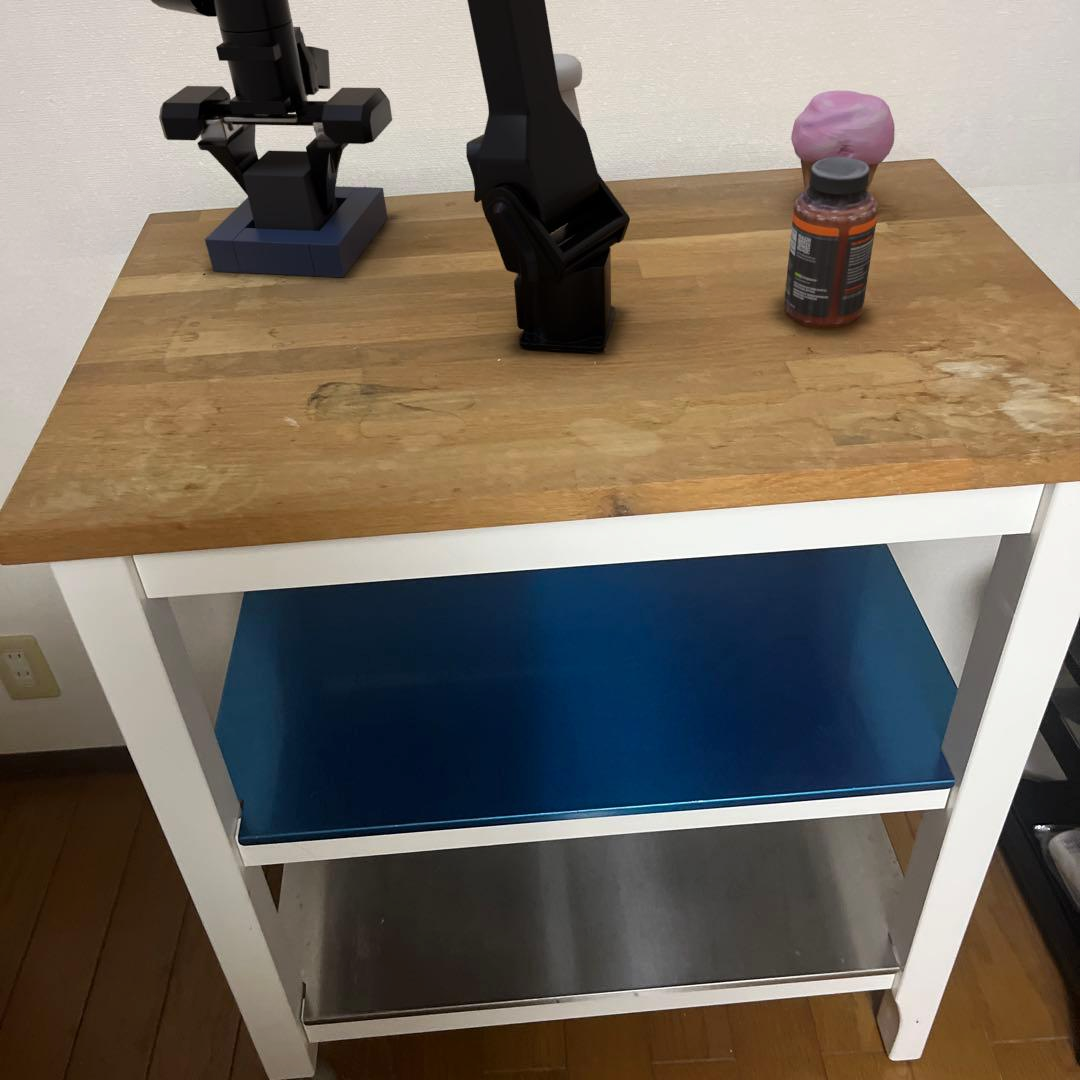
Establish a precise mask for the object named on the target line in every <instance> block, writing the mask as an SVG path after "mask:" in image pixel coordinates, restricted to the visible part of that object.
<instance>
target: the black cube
mask: <svg viewBox="0 0 1080 1080" xmlns="http://www.w3.org/2000/svg"><path fill="white" fill-rule="evenodd" d="M258 159H259V160H258V161H257V162H255V163H254V164H253V165H252V166H251V167H250V168H249V169H248V170H247V171H246V172H245V173H244V174H243V179H244V183H245V187H246V191H247V194H246V195H248V196H247V198H248V199H249V203H250V207H251V211H252V215H253V220H254V224H255V228H256V229H282V230H308V231H320V230H321V229H322V228H323V226H324V225H325V224H326V223H327V222H328V220H329V219H330V218H331V217H332V216H333V215H334V213H335V212H336V211H337V210H338V208H337V202H336V197H335V194H334V200H333V207H332V211H331V213H330V214H329V215H324V214H323V212H322V209H321V206H320V204H319V201H318V197H317V193H316V188H315V184H314V180H313V176H312V172H311V167H310V164H309V159H308V155H307V151H306V150H305V151H304V150H267V151H266V152H265V153H264V154H263V155H261V156H260V158H258Z"/></svg>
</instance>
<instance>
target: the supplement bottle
mask: <svg viewBox="0 0 1080 1080" xmlns="http://www.w3.org/2000/svg"><path fill="white" fill-rule="evenodd" d="M869 172H870V170H869V166H868V165H867V164H866V163H864V162H862V161H860V160H857V159H853V158H845V157H834V158H826V159H823V160H820V161H817V162H816V163H815V164H814V165H812V168H811V177H810V182H809V184H810V187H809V188H808V189H807V190H806V191H805V190H804V191H802V192H801V193H800V194H799V195H798V197H797V198H796V200H795V202H794V205H793V211H792V221H791V229H790V230H791V231H790V239H789V241H790V242H789V250H788V259H787V260H788V261H787V268H786V269H787V271H786V280H785V289H784V302H783V304H784V305H783V307H784V310H785V313H786V314H787V316H789V317H790V318H791V319H792V320H794V321H795V322H797V323H800V324H803V325H805V326H811V327H815V328H834V327H842V326H845V325H847V324H849V323H852V322H854V321H855V320H857V319H858V318H859V317H860V315H861V314H862V312H863V308H864V303H865V298H866V291H867V286H868V285H867V284H868V278H869V271H870V266H871V265H870V264H871V260H872V259H871V258H872V252H873V246H874V240H875V232H876V227H877V219H878V210H879V207H878V201H877V200H876V198H875V196H874V195H873V194H872V193H871V192H869V190H868V191H866V188H867V186H868V184H869V182H868V178H869Z"/></svg>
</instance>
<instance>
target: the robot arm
mask: <svg viewBox="0 0 1080 1080" xmlns="http://www.w3.org/2000/svg"><path fill="white" fill-rule="evenodd" d="M150 1H151V2H152V3H153V4H154V5H156V6H157V7H159V8H162V9H165V10H170V11H176V12H179V13H180V12H181V13H185V14H192V15H197V16H203V17H209V18H215V17H216V18H217V22H218V28H219V31H220V32H219V33H220V35H221V39H222V40H221V41H222V42H221V43H220V44H218V45H217V46H216V47H215V50H216V53H217V57H218V61H219V62H223V61H224V62H227V65H228V70H229V73H230V78H231V82H232V85H233V90H234V94H235V95H234V96H233V97H232V98H231V94H230V93H229V91H228V90H227V89H226V88H225V87H224V86H222V85H218V86H217V85H186V86H185V87H183V88H182V89H180V90H179V91H178V92H176V93H175V94H173V95H171V96H170V97H169V98H168V99H167V100H165V101H164V102H162V104H161V106H160V108H159V116H158V119H159V123H160V126H161V131H162V133H163V137H164V139H166V140H167V141H197V140H198V139H199V138H200V140H199V141H198V142H197V147H198V150H200V151H207V152H208V153H209V154H211V156H212V157H213V158H214V159H215V160H216V161H217V162H218V163H219V165H221V166H222V168H224V170H225V171H227V172H228V174H229V175H230V176H231V177H232V178H233V179H234V181H235V182H236V183H237V184H238V186H239V187H240V188H241V189H242V191H243V192H244V193H245V194H246V195H247V191H246V187H245V183H244V179H243V174H244V173H245V172H246V171H247V170H248V169H249V168H250V167H251V166H252V165H253V164H254V163H255V162H257V161H258V160H259V159H260V158H259V156H258V151H257V148H256V126H291V127H292V126H296V127H301V126H302V127H303V126H304V127H313V131H314V132H315V133H314V134H315V137H314V139H312V140H311V141H310V142H309V143H308V144H307V145H306V146H305V151H307V155H308V159H309V164H310V167H311V172H312V176H313V180H314V184H315V188H316V193H317V197H318V201H319V204H320V206H321V209H322V212H323V214H324V215H329V214H330V213H331V211H332V207H333V200H334V194H335V187H336V186H337V180H338V173H339V168H340V163H341V159H342V155H343V152H344V150H345V149H346V147H348V146H349V144H350V145H366V144H370V143H373V142H375V140H376V139H377V138H378V137H379V136H380V135H381V134H382V132H383V131H384V130H385V129H386V128H387V127H388V126H389V125H390V124H391V123H392V121H393V114H392V109H391V101H390V99H389V97H388V96H387V94H385V92H384V91H383V90H382V88H380V87H341V88H340V89H339V90H338V91H336V93H335V94H334V95H332V96H331V97H330V99H328V100H309V99H308V96H315V95H316V94H317V93H318V92H319V91H320V90H330V89H331V73H330V51H329V50H328V49H325V48H320V47H316V46H310V45H306V43H305V37H304V33H303V32H302V29H301V26H294V23H293V18H292V13H291V8H290V2H289V0H150ZM466 1H467V6H468V11H469V16H470V21H471V27H472V31H473V35H474V41H475V47H476V51H477V56H478V61H479V66H480V72H481V76H482V82H483V86H484V92H485V95H486V101H487V107H488V115H487V119H486V124H485V128H484V132H483V134H482V135H479V136H477V137H475V138H473V139H471V140H469V141H467V142H466V147H465V148H466V150H465V153H466V161H467V163H468V166H469V169H470V172H471V175H472V178H473V185H474V195H473V201H474V202H475V203H476V204H477V203H480V202H481V207H482V212H483V214H484V217H485V219H486V221H487V223H488V225H489V227H490V229H491V232H492V235H493V238H494V240H495V243H496V246H497V250H498V252H499V255H500V257H501V260H502V263H503V265H504V268H505V269H506V271H507V272H511V273H513V274H516V276H515V278H514V280H513V287H514V300H515V301H514V302H515V312H516V313H515V314H516V326H517V328H518V329H519V330H522V333H521V334H520V337H519V339H518V344H519V347H520V348H521V349H532V350H548V351H566V352H579V353H580V352H581V353H582V352H583V353H603V352H604V351H605V349H606V346H607V343H608V340H609V336H610V333H611V329H612V327H613V323H614V320H615V317H616V307H615V306H614V305H612V259H611V258H612V254H611V252H612V251H611V250H612V249H611V247H613V246H614V245H615V244H619V243H621V242H622V241H624V240H625V237H626V233H627V231H628V228H629V225H630V223H631V217H630V215H629V214H628V213H627V211H626V210H625V208H624V207H623V205H622V204H621V203H620V201H619V200H618V199H617V197H616V196H615V195H614V193H613V191H611V189H610V188H609V186H608V185H607V183H606V182H605V180H604V179H603V178H602V176H601V175H600V173H599V172H598V168H597V165H596V162H595V159H594V154H593V151H592V148H591V145H590V144H591V143H590V141H589V138H588V135H587V132H586V131H587V130H585V128H584V126H583V124H582V125H581V123H580V122H579V121H578V119H577V118H576V117H575V115H574V114H573V113H572V111H571V110H570V109H569V107H568V106H567V105H566V103H565V102H564V100H563V99H562V97H561V94H560V91H559V86H558V80H557V73H556V67H555V61H554V55H553V54H554V50H553V49H554V48H553V41H552V36H551V30H550V24H549V23H550V22H549V18H548V11H547V5H546V0H466ZM247 197H248V195H247Z"/></svg>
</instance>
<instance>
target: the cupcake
mask: <svg viewBox="0 0 1080 1080" xmlns="http://www.w3.org/2000/svg"><path fill="white" fill-rule="evenodd" d="M895 132H896V131H895V122H894V117H893V115H892V112H891V108H890V105H888V104H887V102H886V101H885V100H884V99H883V98H881V97H879V96H877V95H873V94H867V93H861V92H857V91H851V90H829V91H823V92H820V93H818V94H816V95H814V96H813V97H812V98H811V100H810V102H809V103H808V104H807V106H806V107H804V109H803V111H802V112H801V113H799V115H798V116H797V117H796V118H795V119H794V122H793V126H792V130H791V136H790V140H791V143H792V146H793V150H794V153H795V155H796V156H797V157H798V159H800V167H801V173H802V180H803V187H804V191H806V190H807V189H808V188H809V187H810V184H809V182H810V177H811V168H812V165H814V164H815V163H816V162H817V161H820V160H823V159H826V158H834V157H845V158H853V159H857V160H860V161H862V162H864V163H866V164H867V165H868V166H869V170H870V172H869V178H868V182H869V184H868V186H867V188H866V191H868V192H869V189H870V186H871V184H872V182H873V180H874V179H873V178H874V176H875V174H876V171H877V168H878V166H879V164H880V163H883V161H884V160H885V159H886V158H887V156H889V155H890V153H891V151H892V148H893V147H894V143H895Z"/></svg>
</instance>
